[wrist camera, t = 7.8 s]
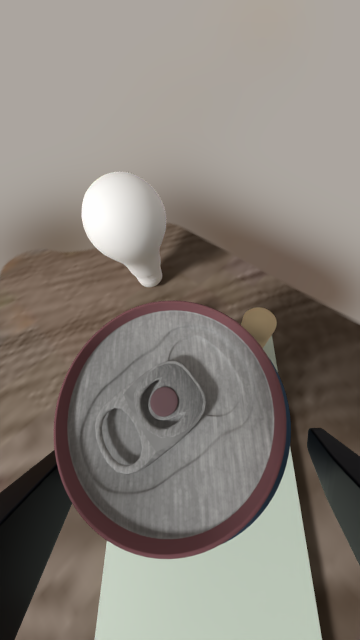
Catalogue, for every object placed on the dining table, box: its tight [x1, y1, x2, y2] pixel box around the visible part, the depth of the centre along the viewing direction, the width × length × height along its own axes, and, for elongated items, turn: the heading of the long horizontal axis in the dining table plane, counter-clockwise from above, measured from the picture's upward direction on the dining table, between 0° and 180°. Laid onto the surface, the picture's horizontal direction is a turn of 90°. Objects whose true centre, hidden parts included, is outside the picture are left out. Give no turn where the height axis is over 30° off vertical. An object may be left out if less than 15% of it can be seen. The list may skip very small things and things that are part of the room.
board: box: [95, 307, 322, 640], centre depth 13 cm, size 18×12×6 cm, turn 179°
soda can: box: [54, 301, 291, 559], centre depth 11 cm, size 7×7×12 cm
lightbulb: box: [82, 172, 166, 287], centre depth 19 cm, size 6×6×11 cm
